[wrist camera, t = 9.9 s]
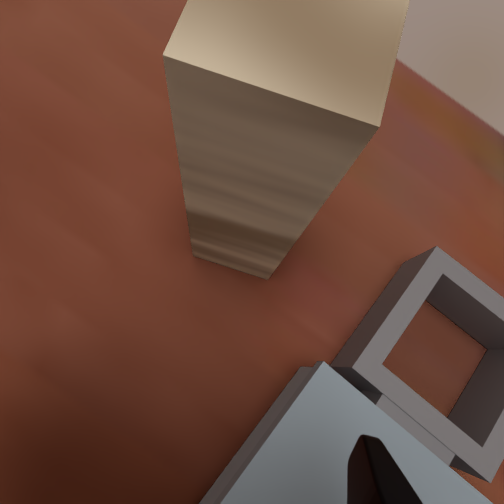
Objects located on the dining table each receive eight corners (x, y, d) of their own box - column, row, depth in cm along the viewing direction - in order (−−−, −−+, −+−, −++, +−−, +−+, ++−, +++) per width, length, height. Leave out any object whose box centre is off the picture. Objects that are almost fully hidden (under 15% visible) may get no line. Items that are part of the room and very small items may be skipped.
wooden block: (267, 279, 22) (379, 127, 8) (192, 255, 22) (162, 54, 7) (288, 210, 23) (417, -33, 9) (217, 187, 23) (232, -97, 9)
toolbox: (287, 808, 16) (333, 1071, 10) (102, 626, 17) (44, 768, 11) (530, 363, 22) (647, 364, 16) (384, 247, 23) (445, 208, 17)
